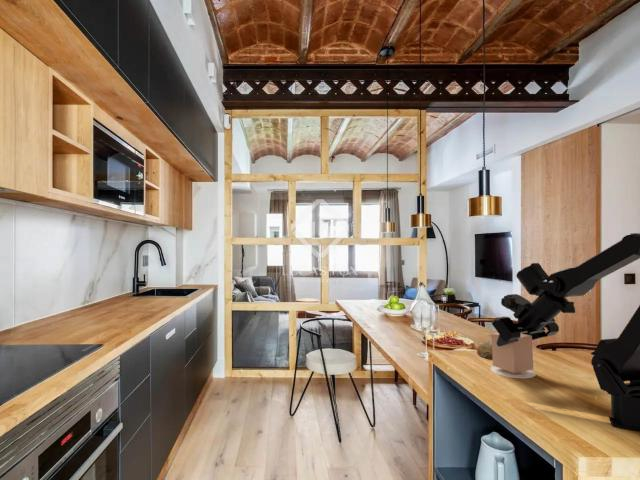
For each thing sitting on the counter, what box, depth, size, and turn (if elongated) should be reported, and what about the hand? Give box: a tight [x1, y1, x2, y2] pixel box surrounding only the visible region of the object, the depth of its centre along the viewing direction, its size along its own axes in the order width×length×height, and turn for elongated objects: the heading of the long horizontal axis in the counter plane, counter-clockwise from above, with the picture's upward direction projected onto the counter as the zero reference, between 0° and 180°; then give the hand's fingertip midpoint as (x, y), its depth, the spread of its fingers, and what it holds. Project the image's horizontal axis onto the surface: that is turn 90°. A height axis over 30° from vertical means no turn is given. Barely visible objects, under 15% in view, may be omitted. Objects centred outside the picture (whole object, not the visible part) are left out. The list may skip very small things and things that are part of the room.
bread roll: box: [476, 339, 493, 360], centre depth 112 cm, size 10×10×8 cm
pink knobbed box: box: [491, 331, 534, 373], centre depth 97 cm, size 7×7×10 cm
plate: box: [490, 365, 537, 379], centre depth 97 cm, size 11×11×1 cm
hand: (507, 343), depth 99 cm, fingers closed on pink knobbed box, 7 cm apart
